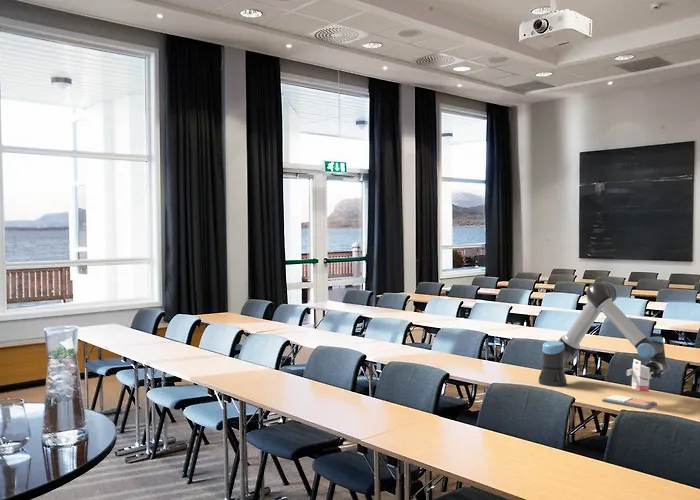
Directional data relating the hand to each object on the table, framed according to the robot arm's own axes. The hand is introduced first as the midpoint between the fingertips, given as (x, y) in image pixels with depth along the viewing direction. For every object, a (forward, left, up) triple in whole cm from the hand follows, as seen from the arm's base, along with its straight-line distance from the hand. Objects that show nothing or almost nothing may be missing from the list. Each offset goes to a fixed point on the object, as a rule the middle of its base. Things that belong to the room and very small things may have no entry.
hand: (637, 374), depth 301 cm
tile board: (-5, +5, -15) cm, 17 cm away
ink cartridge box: (0, +5, -8) cm, 9 cm away
